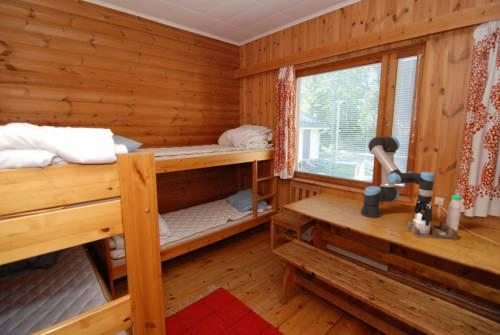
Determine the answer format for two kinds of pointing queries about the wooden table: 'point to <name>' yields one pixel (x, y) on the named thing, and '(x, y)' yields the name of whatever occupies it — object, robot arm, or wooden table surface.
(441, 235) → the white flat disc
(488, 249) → the wooden table surface
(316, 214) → the wooden table surface
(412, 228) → the rack
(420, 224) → the container
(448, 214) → the water bottle
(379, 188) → the robot arm
